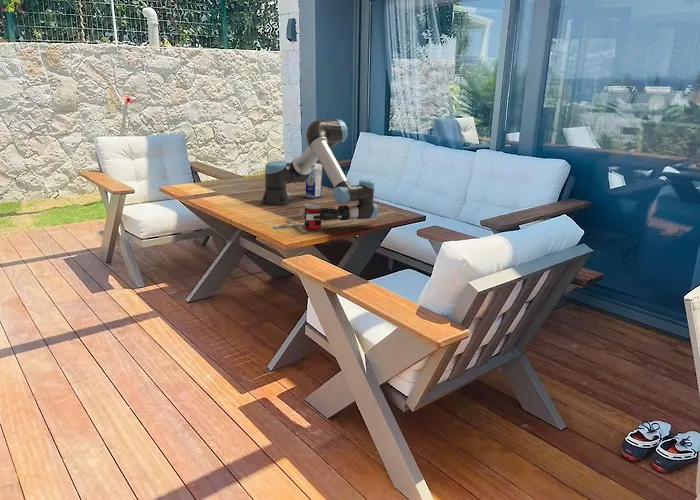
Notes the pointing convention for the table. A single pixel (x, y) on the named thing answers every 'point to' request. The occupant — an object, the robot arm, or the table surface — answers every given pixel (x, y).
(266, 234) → the table surface
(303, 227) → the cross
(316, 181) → the milk carton
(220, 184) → the table surface
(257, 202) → the table surface
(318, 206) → the canned food
